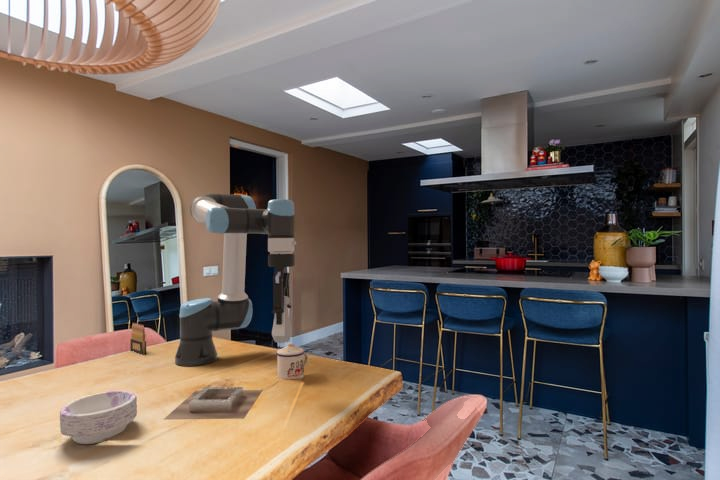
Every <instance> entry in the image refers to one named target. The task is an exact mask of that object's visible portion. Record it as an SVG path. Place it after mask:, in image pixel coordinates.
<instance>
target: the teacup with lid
mask: <svg viewBox="0 0 720 480" xmlns="http://www.w3.org/2000/svg"><path fill="white" fill-rule="evenodd" d="M276 355H277V357H276V359H277V362H276V363H277V367H276V368H277V370H276V371H277V379H278V380H279V379H281V380H294V379H304V378H305V374H304V373H305V372H304V371H305V367H306V366H307V364H308V362H309V355H308V353H306V352H305V350H304V349H303V348H302V347H298V346H297V345H295V344H294V342H290V341H289V342H287V345H284V347H282V348H279V349H278V350H277V351H276Z"/></svg>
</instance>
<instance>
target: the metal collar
mask: <svg viewBox="0 0 720 480" xmlns="http://www.w3.org/2000/svg"><path fill="white" fill-rule="evenodd" d="M243 390H244V386H221V387H220V386H218V387H217V386H210V387H207V386H206V387H204V388H202V389H201V390H199V391H200V392H199V393H198V394H197V395H196V396H195V397H194V398H193V399H192V400H191V401H190V402H189V412H204V411H232V410H233V408H234V407H235V406H236V405H237V403H238V402H239V401H240V399H241V398H242V397H243ZM208 398H228V399H221V400H207V399H208Z"/></svg>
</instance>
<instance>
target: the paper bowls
mask: <svg viewBox="0 0 720 480" xmlns="http://www.w3.org/2000/svg"><path fill="white" fill-rule="evenodd" d="M137 398H138V397H137V395H136V394H135V393H134V392H132V391H129V390H110V391H103V392H98V393H94V394H89V395H85V396H82V397H79V398H76V399H74V400H72V401H70V402H68V403H66V404H65V405H64V406H62V408H61V409H60V411H59V428H60V429H59V430H60V434H62V435H63V436H65V437H66V436H67V437H70V438H71V439H72V440H73V441H74V442H75V443H77V444H80V445H81V444H82V445H90V444H91V445H93V444H99V443H104V442H106V441H108V438H111V437H115V436H116V435H118V434H121V433H122V432H123V431H125V430H126V428H127V426H128V424H130V423H132V422H133V420H135V419H136V417H137V414H138V409H137V408H138V404H137V402H138V401H137V400H138V399H137Z"/></svg>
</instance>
